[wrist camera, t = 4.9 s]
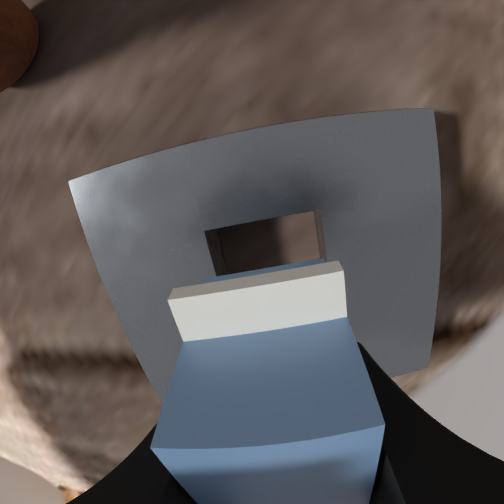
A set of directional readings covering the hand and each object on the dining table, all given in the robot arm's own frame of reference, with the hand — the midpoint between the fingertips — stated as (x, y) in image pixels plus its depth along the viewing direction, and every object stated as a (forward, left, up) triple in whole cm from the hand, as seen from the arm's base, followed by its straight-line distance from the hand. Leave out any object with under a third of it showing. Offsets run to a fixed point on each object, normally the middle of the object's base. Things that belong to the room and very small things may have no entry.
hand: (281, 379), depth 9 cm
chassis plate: (0, 0, -8) cm, 8 cm away
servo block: (0, 0, -2) cm, 2 cm away
